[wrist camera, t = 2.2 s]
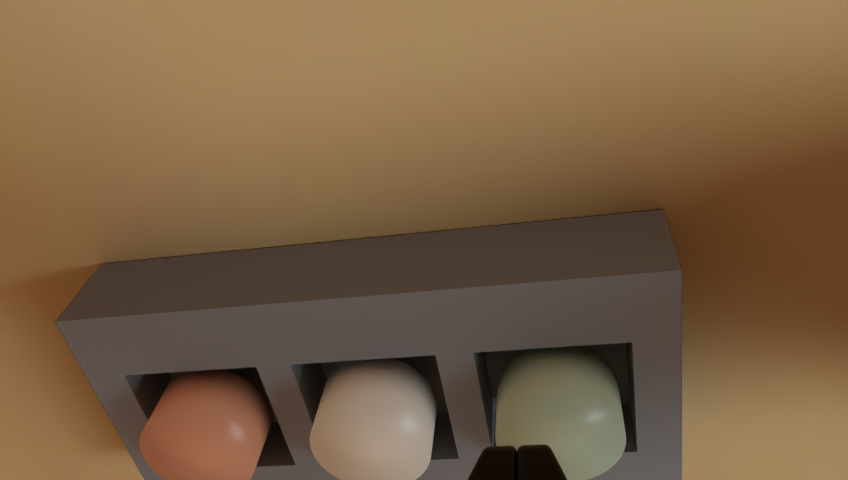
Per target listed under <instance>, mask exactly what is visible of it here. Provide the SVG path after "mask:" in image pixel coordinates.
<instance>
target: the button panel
mask: <svg viewBox="0 0 848 480" xmlns="http://www.w3.org/2000/svg"><path fill="white" fill-rule="evenodd" d="M55 323H56V325H57V326H58V328H59V330H60V332H61V333H62V335H63V337H64V339H65V340H66V342H67V344H68V346H69V347H70V349H71V351H72V353H73V355H74V356H75V358H76V360H77V362H78V363H79V365H80V367H81V369H82V370H83V372H84V374H85V376H86V377H87V379H88V381H89V383H90V384H91V386H92V388H93V390H94V392H95V393H96V395H97V397H98V399H99V400H100V402H101V404H102V406H103V407H104V409H105V411H106V413H107V414H108V416H109V418H110V420H111V421H112V423H113V425H114V427H115V429H116V430H117V432H118V434H119V436H120V437H121V439H122V441H123V443H124V444H125V446H126V448H127V450H128V451H129V453H130V455H131V457H132V458H133V460H134V462H135V464H136V466H137V467H138V469H139V471H140V473H141V474H142V476H143V478H144V480H165V479H163V478H162V477H160V476H159V475H158V474H157V473H155V472H154V471H153V470H152V469H151V468H150V466H149V465H148V464H147V463H146V461H145V459H144V458H143V456H142V454H141V450H140V445H139V441H140V436H141V433H142V431H143V429H144V427H145V425H146V424H147V422H148V420H149V418H150V416H151V415H152V413H153V411H154V409H155V407H156V405H157V404H158V402H159V400H160V398H161V396H162V394H163V393H164V391H165V389H166V387H167V385H168V384H169V382H170V381H171V380H172V378H174V377H175V376H176V375H177V374H179V373H181V372H187V371H202V370H217V369H222V370H226V371H229V372H232V373H235V374H237V375H239V376H241V377H243V378H245V379H247V380H248V381H250V382H251V383H252V384H254V385H255V386H256V387H257V388H258V389H259V390H260V391H261V392H262V393H263V394H264V395H265V397H266V398H267V400H268V402H269V404H270V406H271V409H272V415H273V417H272V424H271V427H270V430H269V432H268V435H267V438H266V441H265V443H264V446H263V449H262V452H261V454H260V457H259V460H258V463H257V465H256V468H255V471H254V474H253V476H252V478H251V479H250V480H340V479H338V478H336V477H335V476H333V475H332V474H330V473H329V472H327V471H326V470H325V469H324V468H323V467H322V466H321V465H320V464H319V463H318V462H317V460H316V459H315V457H314V455H313V453H312V451H311V447H310V433H311V430H312V426H313V423H314V420H315V417H316V413H317V410H318V407H319V403H320V400H321V397H322V393H323V390H324V387H325V384H326V381H327V379H328V377H329V375H330V374H331V373H332V371H333V370H334V369H336V368H337V367H338V366H340V365H341V364H343V363H345V362H347V361H355V360H370V359H385V358H392V359H395V360H399V361H401V362H404V363H406V364H408V365H410V366H412V367H414V368H415V369H417V370H418V371H419V372H421V373H422V374H423V375H424V376H425V377H426V378H427V379H428V380H429V382H430V383H431V384H432V386H433V388H434V390H435V393H436V396H437V413H436V421H435V429H434V437H433V445H432V453H431V459H430V463H429V465H428V467H427V469H426V470H425V472H424V473H423V474H422V475H421V476H420V477H419V478H417V479H416V480H467V479H468V477H469V475H470V473H471V471H472V469H473V468H474V466H475V464H476V462H477V460H478V458H479V456H480V454H481V452H482V451H483V450H484V449H485V448H486V447H489V446H496V441H495V430H496V402H497V382H498V378H499V375H500V373H501V371H502V369H503V368H504V367H505V365H506V364H507V363H508V362H509V361H510V360H511V359H512V358H514V357H515V356H517V355H518V354H520V353H521V352H524V351H526V350H528V349H538V348H553V347H568V346H577V347H581V348H584V349H586V350H589V351H591V352H593V353H595V354H597V355H598V356H600V357H601V358H602V359H604V360H605V361H606V362H607V363H608V364H609V365H610V367H611V368H612V369H613V371H614V373H615V375H616V377H617V380H618V387H619V393H620V400H621V407H622V413H623V420H624V426H625V433H626V446H625V450H624V452H623V454H622V456H621V458H620V459H619V460H618V462H617V463H616V464H615V465H614V466H613V467H611V468H610V469H609V470H607V471H606V472H604V473H603V474H601V475H599V476H596V477H594V478H591V479H588V480H682V269H681V266H680V262H679V259H678V256H677V252H676V249H675V246H674V243H673V239H672V236H671V233H670V229H669V226H668V223H667V220H666V216H665V213H664V210H652V211H642V212H632V213H621V214H611V215H601V216H590V217H580V218H570V219H559V220H549V221H539V222H528V223H518V224H508V225H497V226H487V227H477V228H466V229H456V230H446V231H435V232H425V233H415V234H405V235H394V236H384V237H374V238H363V239H353V240H343V241H332V242H322V243H312V244H301V245H291V246H281V247H270V248H260V249H250V250H239V251H229V252H219V253H208V254H198V255H188V256H178V257H167V258H157V259H147V260H136V261H126V262H116V263H105V264H101V265H100V266H99V267H98V269H97V270H96V271H95V272H94V273H93V275H92V276H91V277H90V278H89V280H88V281H87V282H86V283H85V285H84V286H83V287H82V288H81V290H80V291H79V292H78V293H77V295H76V296H75V297H74V298H73V300H72V301H71V302H70V303H69V305H68V306H67V307H66V308H65V310H64V311H63V312H62V313H61V315H60V316H59V317H58V318H57V320H56V321H55Z"/></svg>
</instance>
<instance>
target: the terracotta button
mask: <svg viewBox="0 0 848 480" xmlns="http://www.w3.org/2000/svg"><path fill="white" fill-rule="evenodd" d="M272 417H273V415H272V409H271V406H270V404H269V402H268V400H267V398H266V397H265V395H264V394H263V393H262V392H261V391H260V390H259V389H258V388H257V387H256V386H255V385H254V384H252V383H251V382H250V381H248V380H247V379H245V378H243V377H241V376H239V375H237V374H235V373H232V372H229V371H226V370H222V369H217V370H202V371H187V372H181V373H179V374H177V375H176V376H175V377H174V378H172V380H171V381H170V382H169V384H168V385H167V387H166V389H165V391H164V393H163V394H162V396H161V398H160V400H159V402H158V404H157V405H156V407H155V409H154V411H153V413H152V415H151V416H150V418H149V420H148V422H147V424H146V425H145V427H144V429H143V431H142V433H141V436H140V441H139V445H140V450H141V454H142V456H143V458H144V459H145V461H146V463H147V464H148V465H149V466H150V468H151V469H152V470H153V471H154V472H155V473H157V474H158V475H159V476H160V477H162V478H163V479H165V480H250V479H251V478H252V476H253V474H254V471H255V468H256V465H257V463H258V460H259V457H260V454H261V452H262V449H263V446H264V443H265V441H266V438H267V435H268V432H269V430H270V427H271V424H272Z"/></svg>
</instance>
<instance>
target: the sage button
mask: <svg viewBox="0 0 848 480" xmlns="http://www.w3.org/2000/svg"><path fill="white" fill-rule="evenodd" d="M495 441H496V446H513V447H515V448H516V450H517V449H518V447H520V446H522V445H542V444H544V445H548V446H549V447H550V448H551V449H552V451H553V453H554V455H555V457H556V459H557V461H558V463H559V464H560V466H561V468H562V470H563V472H564V474H565V476H566V478H567V480H588V479H591V478H594V477H596V476H599V475H601V474H603V473H604V472H606V471H607V470H609V469H610V468H611V467H613V466H614V465H615V464H616V463H617V462H618V460H619V459H620V458H621V456H622V454H623V452H624V450H625V446H626V433H625V426H624V420H623V413H622V407H621V400H620V393H619V387H618V380H617V377H616V375H615V373H614V371H613V369H612V368H611V367H610V365H609V364H608V363H607V362H606V361H605V360H604V359H602V358H601V357H600V356H598V355H597V354H595V353H593V352H591V351H589V350H586V349H584V348H581V347H577V346H568V347H553V348H538V349H528V350H526V351H524V352H521V353H520V354H518V355H517V356H515V357H514V358H512V359H511V360H510V361H509V362H508V363H507V364H506V365H505V367H504V368H503V369H502V371H501V373H500V375H499V378H498V382H497V402H496V430H495Z"/></svg>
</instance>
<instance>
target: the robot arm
mask: <svg viewBox="0 0 848 480" xmlns="http://www.w3.org/2000/svg"><path fill="white" fill-rule="evenodd" d="M467 480H567V478H566V476H565V474H564V472H563V470H562V468H561V466H560V464H559V463H558V461H557V459H556V457H555V455H554V453H553V451H552V449H551V448H550V447H549V446H548V445H544V444H542V445H522V446H520V447H518V449H517V450H516V448H515V447H513V446H489V447H486V448H485V449H484V450H483V451H482V452H481V454H480V456H479V458H478V460H477V462H476V464H475V466H474V468H473V469H472V471H471V473H470V475H469V477H468V479H467Z"/></svg>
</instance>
